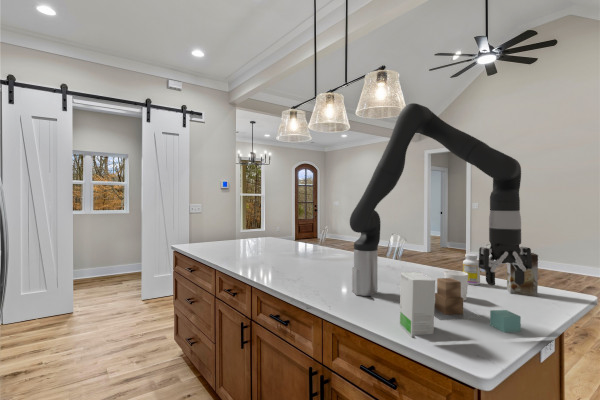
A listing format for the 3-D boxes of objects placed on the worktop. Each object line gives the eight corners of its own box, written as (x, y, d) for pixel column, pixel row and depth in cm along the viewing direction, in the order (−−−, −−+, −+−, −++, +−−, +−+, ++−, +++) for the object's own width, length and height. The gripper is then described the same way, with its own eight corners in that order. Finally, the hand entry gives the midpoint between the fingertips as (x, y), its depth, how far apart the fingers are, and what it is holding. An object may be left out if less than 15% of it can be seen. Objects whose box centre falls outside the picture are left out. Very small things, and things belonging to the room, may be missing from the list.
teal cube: (503, 335, 82) (503, 316, 82) (490, 327, 87) (490, 310, 87) (520, 334, 83) (520, 316, 83) (506, 327, 88) (506, 309, 88)
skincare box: (399, 325, 88) (399, 272, 88) (420, 324, 89) (420, 271, 89) (412, 338, 80) (412, 279, 80) (435, 337, 80) (436, 278, 81)
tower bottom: (445, 314, 95) (445, 298, 95) (434, 307, 101) (434, 292, 101) (463, 314, 95) (463, 298, 95) (451, 307, 101) (451, 292, 101)
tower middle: (445, 298, 95) (445, 282, 95) (437, 293, 100) (437, 278, 100) (460, 297, 96) (460, 281, 96) (451, 293, 101) (451, 278, 101)
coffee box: (509, 293, 120) (509, 253, 120) (506, 289, 126) (506, 250, 126) (538, 296, 116) (538, 254, 117) (533, 292, 122) (533, 252, 122)
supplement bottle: (469, 280, 140) (469, 253, 140) (483, 284, 134) (483, 255, 134) (459, 282, 137) (459, 254, 137) (473, 286, 131) (473, 256, 131)
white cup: (465, 297, 114) (465, 271, 115) (470, 304, 107) (470, 276, 107) (443, 295, 117) (443, 269, 117) (445, 301, 110) (445, 274, 110)
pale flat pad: (440, 322, 90) (440, 320, 90) (417, 306, 104) (417, 304, 104) (484, 321, 92) (484, 318, 92) (455, 305, 106) (455, 303, 106)
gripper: (490, 228, 81) (491, 288, 80) (539, 227, 82) (540, 287, 82) (472, 226, 88) (472, 281, 88) (517, 225, 90) (517, 280, 89)
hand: (505, 284), depth 85 cm, fingers open, 8 cm apart
